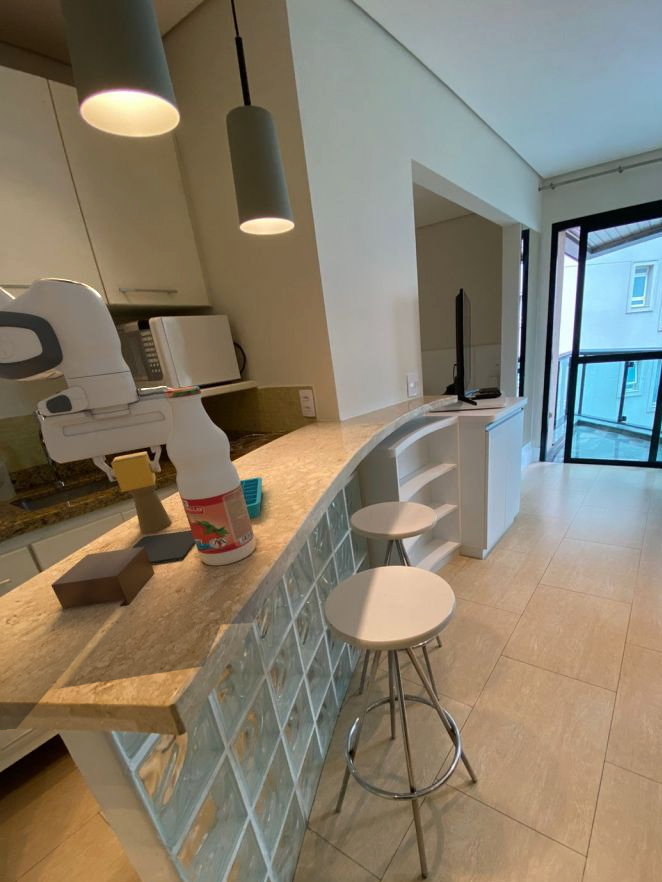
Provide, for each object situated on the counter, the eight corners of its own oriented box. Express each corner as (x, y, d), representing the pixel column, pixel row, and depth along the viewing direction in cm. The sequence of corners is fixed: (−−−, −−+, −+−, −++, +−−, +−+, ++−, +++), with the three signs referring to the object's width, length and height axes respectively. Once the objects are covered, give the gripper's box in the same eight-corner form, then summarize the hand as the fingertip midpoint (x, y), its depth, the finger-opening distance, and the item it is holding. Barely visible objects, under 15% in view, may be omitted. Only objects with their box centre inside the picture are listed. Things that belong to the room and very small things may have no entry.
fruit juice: (266, 550, 71) (224, 383, 60) (212, 573, 65) (156, 394, 54) (243, 535, 78) (202, 383, 67) (193, 555, 72) (139, 392, 61)
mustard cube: (122, 492, 68) (110, 463, 66) (125, 484, 73) (114, 457, 71) (154, 484, 70) (144, 456, 68) (156, 477, 74) (146, 451, 72)
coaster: (113, 569, 70) (112, 567, 70) (143, 538, 82) (143, 536, 81) (183, 559, 71) (182, 557, 71) (204, 530, 82) (203, 528, 82)
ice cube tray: (264, 487, 104) (261, 476, 102) (263, 517, 85) (260, 503, 84) (216, 496, 101) (213, 485, 100) (205, 528, 83) (201, 514, 82)
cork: (159, 532, 84) (141, 481, 79) (134, 533, 85) (114, 483, 81) (177, 519, 89) (161, 472, 85) (153, 520, 90) (136, 473, 86)
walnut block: (65, 614, 59) (50, 585, 57) (99, 580, 67) (87, 554, 65) (128, 605, 59) (116, 575, 57) (154, 572, 68) (144, 546, 66)
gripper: (176, 383, 72) (198, 459, 77) (36, 402, 64) (72, 484, 70) (176, 385, 66) (200, 466, 72) (23, 406, 59) (63, 495, 64)
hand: (136, 475), depth 71 cm, fingers closed on mustard cube, 5 cm apart
